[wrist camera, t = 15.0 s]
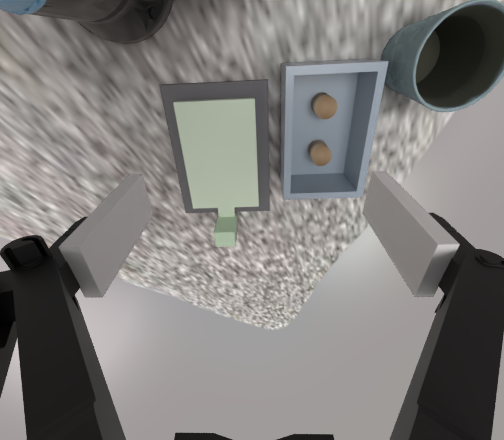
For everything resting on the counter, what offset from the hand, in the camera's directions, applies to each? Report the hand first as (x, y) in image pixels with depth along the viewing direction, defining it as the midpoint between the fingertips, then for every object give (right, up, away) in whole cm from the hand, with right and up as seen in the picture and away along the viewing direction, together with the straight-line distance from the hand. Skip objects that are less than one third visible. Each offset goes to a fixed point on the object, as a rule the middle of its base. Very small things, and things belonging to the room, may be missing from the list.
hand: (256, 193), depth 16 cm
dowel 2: (+11, +10, +29) cm, 32 cm away
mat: (-5, +10, +31) cm, 32 cm away
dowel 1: (+10, +16, +25) cm, 32 cm away
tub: (+10, +14, +28) cm, 33 cm away
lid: (-5, +7, +31) cm, 32 cm away
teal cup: (+22, +22, +23) cm, 38 cm away
